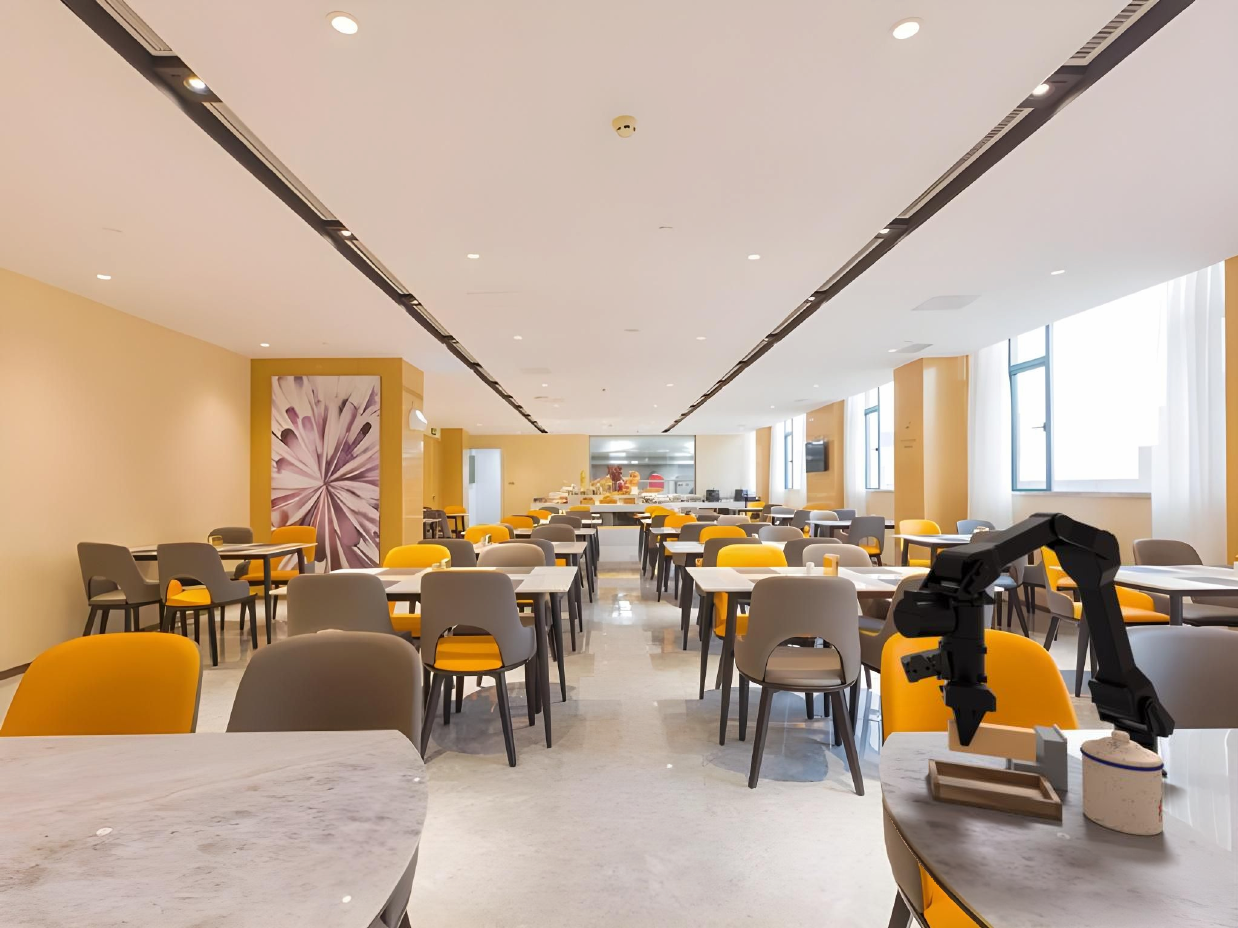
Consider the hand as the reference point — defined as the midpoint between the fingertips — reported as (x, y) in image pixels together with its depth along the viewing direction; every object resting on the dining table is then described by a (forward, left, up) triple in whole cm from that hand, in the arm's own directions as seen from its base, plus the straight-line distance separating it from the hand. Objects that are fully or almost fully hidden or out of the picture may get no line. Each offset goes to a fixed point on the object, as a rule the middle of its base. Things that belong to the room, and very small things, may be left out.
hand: (963, 742), depth 100 cm
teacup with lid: (+1, +18, -7) cm, 20 cm away
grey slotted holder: (-10, +11, -7) cm, 16 cm away
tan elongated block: (0, +3, -1) cm, 4 cm away
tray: (0, +3, -7) cm, 8 cm away
